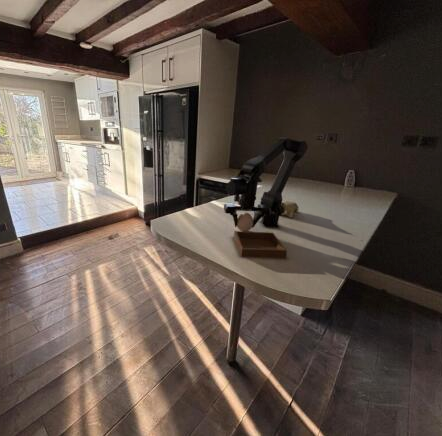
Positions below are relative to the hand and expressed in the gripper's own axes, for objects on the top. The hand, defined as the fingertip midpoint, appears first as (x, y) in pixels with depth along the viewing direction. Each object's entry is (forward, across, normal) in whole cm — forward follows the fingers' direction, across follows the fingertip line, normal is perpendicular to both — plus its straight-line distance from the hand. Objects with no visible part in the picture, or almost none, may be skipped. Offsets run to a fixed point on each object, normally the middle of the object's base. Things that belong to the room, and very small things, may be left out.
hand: (244, 227), depth 102 cm
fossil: (+2, -29, -25) cm, 38 cm away
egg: (+2, 0, 0) cm, 2 cm away
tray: (+2, -2, +15) cm, 15 cm away
